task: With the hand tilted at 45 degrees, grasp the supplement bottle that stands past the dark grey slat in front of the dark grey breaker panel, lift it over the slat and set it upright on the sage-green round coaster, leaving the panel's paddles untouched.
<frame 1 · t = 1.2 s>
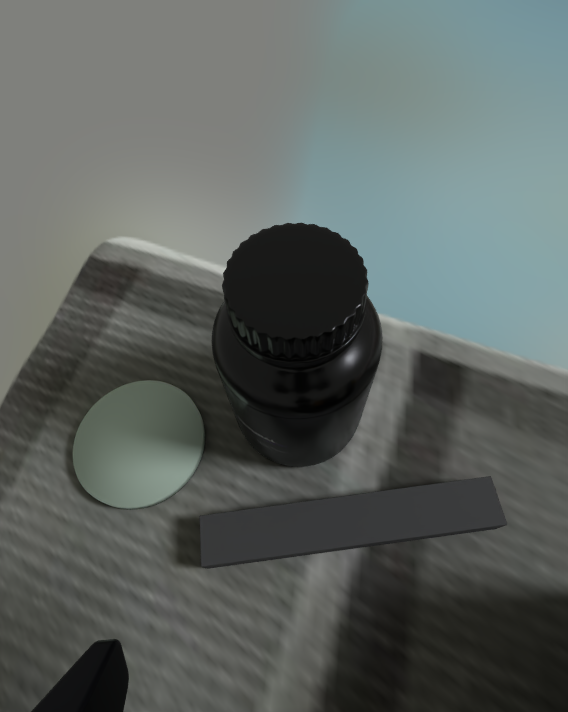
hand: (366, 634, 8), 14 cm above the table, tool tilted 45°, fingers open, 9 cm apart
supplement bottle: (299, 411, 25), on the table
pad: (141, 442, 25), on the table
dark grey slat: (347, 525, 22), on the table
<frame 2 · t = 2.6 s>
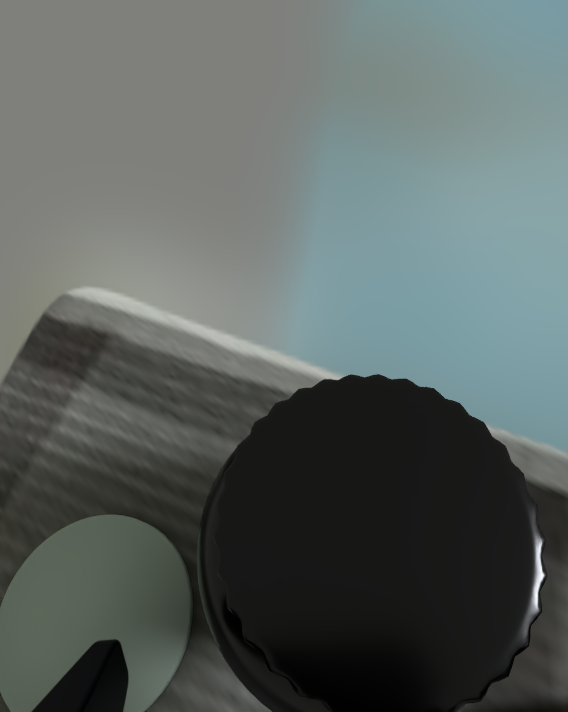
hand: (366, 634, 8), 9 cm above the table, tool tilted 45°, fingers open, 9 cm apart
supplement bottle: (332, 565, 17), on the table
pad: (99, 616, 17), on the table
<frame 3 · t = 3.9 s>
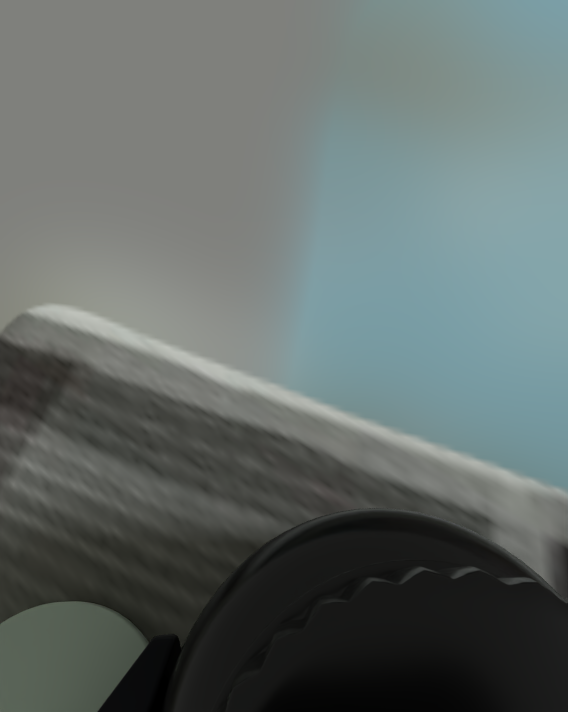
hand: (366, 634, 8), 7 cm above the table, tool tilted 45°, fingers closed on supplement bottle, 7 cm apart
supplement bottle: (348, 668, 14), on the table, touching gripper
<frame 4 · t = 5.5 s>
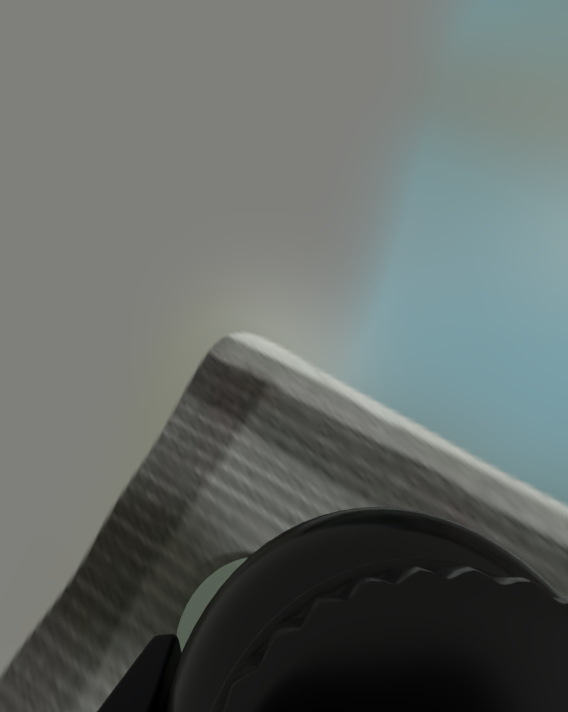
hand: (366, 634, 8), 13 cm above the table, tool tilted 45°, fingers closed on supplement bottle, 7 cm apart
supplement bottle: (351, 665, 14), point 6 cm above the table, touching gripper
pad: (258, 645, 19), on the table
when the fingers open (8 cm above the table, at t = 7.3 s): supplement bottle stays where it is, resting on pad.
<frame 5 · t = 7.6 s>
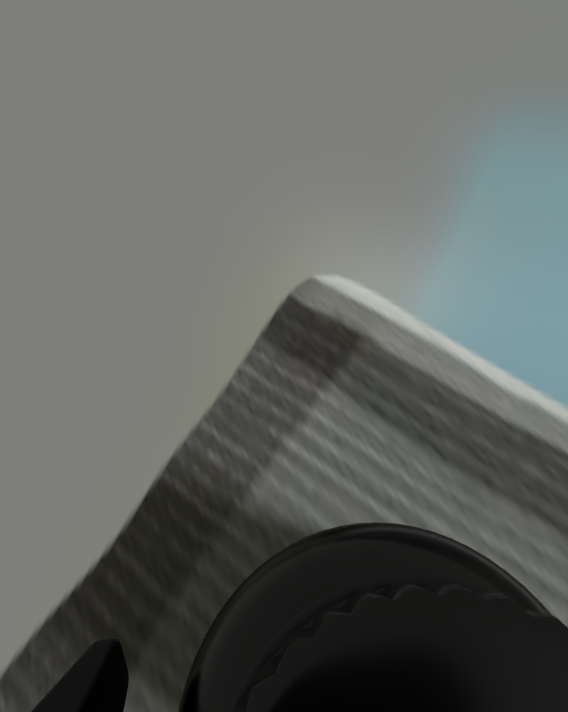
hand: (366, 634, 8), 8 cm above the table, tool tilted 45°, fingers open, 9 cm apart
supplement bottle: (348, 668, 14), resting on pad
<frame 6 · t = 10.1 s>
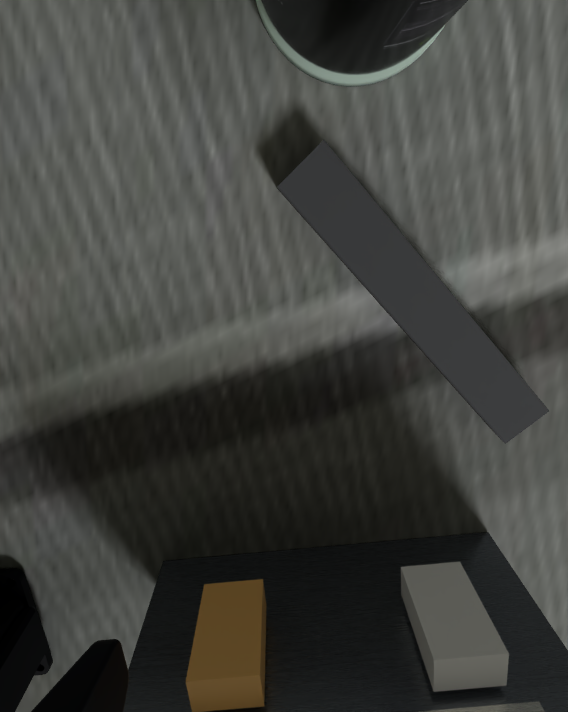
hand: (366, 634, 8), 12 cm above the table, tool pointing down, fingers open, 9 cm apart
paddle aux: (448, 620, 17), point 5 cm above the table, hinge at 0.0°
breaker panel: (326, 566, 22), on the table
paddle main: (231, 638, 17), point 5 cm above the table, hinge at 0.0°
dark grey slat: (411, 299, 19), on the table
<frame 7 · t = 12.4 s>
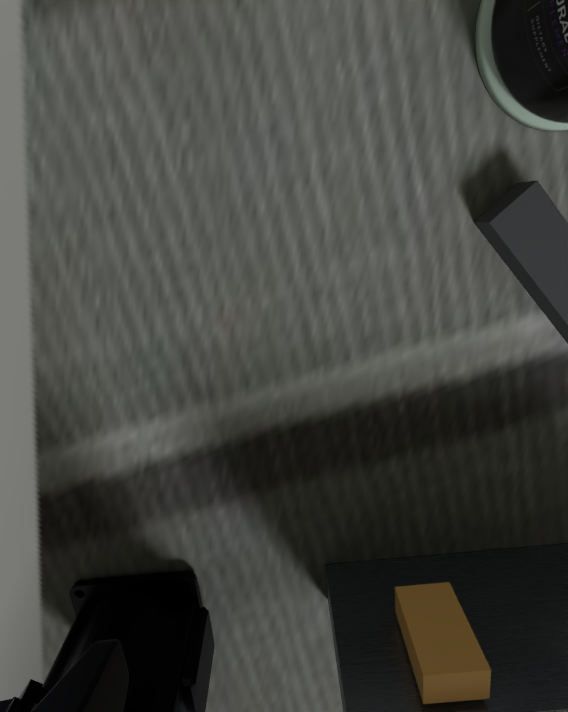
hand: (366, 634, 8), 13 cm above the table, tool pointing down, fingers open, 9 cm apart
breaker panel: (476, 569, 24), on the table
paddle main: (437, 637, 18), point 6 cm above the table, hinge at 0.0°
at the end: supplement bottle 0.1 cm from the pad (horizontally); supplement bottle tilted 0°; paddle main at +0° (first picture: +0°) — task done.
